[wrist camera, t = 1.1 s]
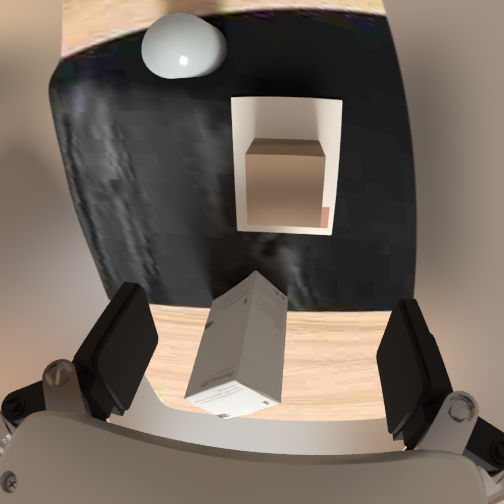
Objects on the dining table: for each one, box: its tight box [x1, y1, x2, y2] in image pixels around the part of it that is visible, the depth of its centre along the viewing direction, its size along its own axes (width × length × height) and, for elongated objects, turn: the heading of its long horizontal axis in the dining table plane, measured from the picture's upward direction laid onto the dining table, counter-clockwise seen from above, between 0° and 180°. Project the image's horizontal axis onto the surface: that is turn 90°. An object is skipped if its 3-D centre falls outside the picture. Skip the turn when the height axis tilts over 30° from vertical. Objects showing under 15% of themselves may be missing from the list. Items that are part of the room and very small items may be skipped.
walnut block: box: [245, 138, 326, 228], centre depth 26 cm, size 6×6×6 cm
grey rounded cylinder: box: [142, 12, 227, 78], centre depth 20 cm, size 6×6×6 cm
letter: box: [231, 97, 342, 235], centre depth 28 cm, size 14×10×1 cm
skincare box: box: [184, 271, 288, 419], centre depth 32 cm, size 8×6×15 cm
